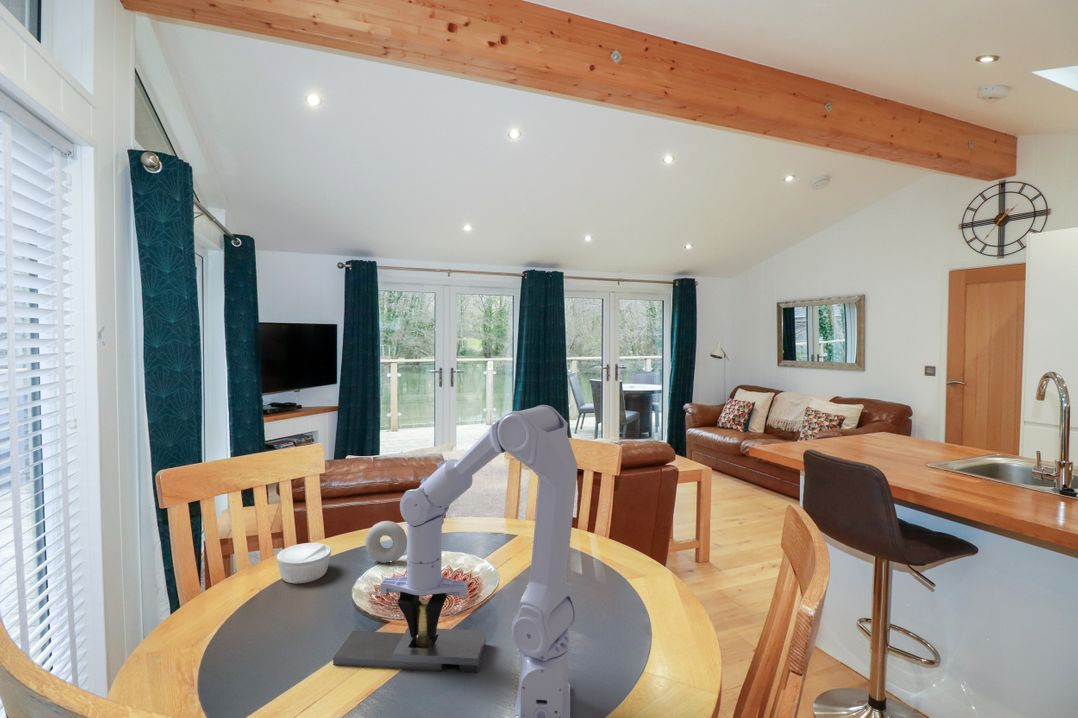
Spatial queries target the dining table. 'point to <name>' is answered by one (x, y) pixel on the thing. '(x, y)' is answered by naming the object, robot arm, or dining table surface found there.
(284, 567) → the ramekin
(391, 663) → the link
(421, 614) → the pin
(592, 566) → the dining table surface
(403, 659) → the link
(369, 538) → the donut
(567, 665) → the robot arm
